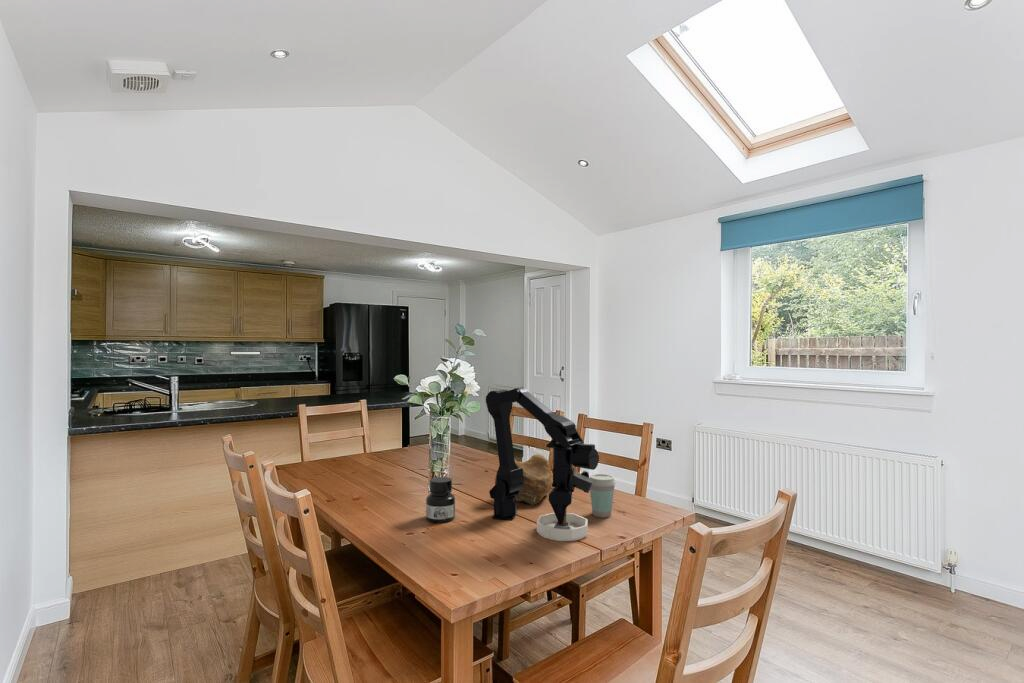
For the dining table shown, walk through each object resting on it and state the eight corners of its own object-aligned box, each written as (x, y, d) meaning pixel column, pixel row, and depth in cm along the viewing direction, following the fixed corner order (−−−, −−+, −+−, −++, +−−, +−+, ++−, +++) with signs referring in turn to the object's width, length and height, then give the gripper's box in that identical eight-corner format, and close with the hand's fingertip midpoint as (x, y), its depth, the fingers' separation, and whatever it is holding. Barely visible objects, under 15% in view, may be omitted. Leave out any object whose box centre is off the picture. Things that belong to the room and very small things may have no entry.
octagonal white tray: (534, 539, 141) (534, 527, 141) (541, 522, 155) (541, 511, 155) (586, 543, 138) (586, 531, 138) (588, 525, 152) (588, 514, 152)
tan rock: (521, 515, 164) (525, 469, 163) (487, 499, 176) (491, 456, 175) (567, 502, 180) (571, 461, 179) (534, 489, 192) (537, 449, 191)
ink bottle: (422, 523, 153) (422, 483, 153) (427, 513, 162) (427, 475, 162) (454, 523, 153) (454, 483, 153) (457, 514, 162) (458, 476, 162)
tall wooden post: (558, 530, 146) (558, 502, 146) (559, 527, 148) (559, 500, 148) (565, 530, 145) (565, 502, 146) (566, 528, 147) (566, 500, 148)
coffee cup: (619, 513, 164) (619, 475, 164) (609, 520, 156) (610, 481, 157) (594, 508, 168) (594, 472, 168) (584, 516, 161) (584, 477, 161)
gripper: (590, 473, 136) (589, 532, 136) (591, 458, 155) (591, 510, 154) (548, 471, 138) (548, 529, 138) (555, 457, 157) (554, 508, 156)
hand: (562, 518), depth 147 cm, fingers open, 9 cm apart
